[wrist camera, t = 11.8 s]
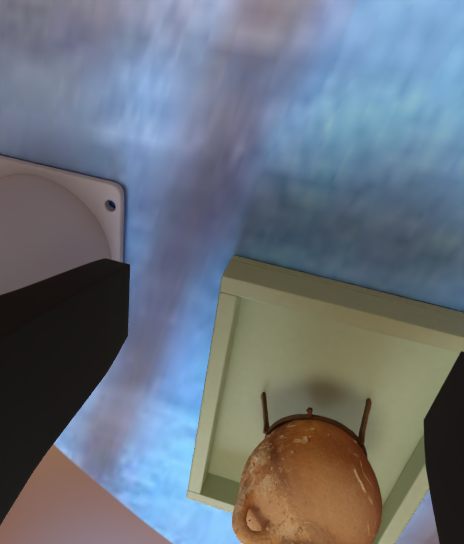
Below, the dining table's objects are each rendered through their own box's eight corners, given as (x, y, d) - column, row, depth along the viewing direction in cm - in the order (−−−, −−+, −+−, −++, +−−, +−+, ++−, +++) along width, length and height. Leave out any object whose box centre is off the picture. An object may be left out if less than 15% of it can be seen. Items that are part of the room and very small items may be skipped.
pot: (382, 452, 23) (369, 365, 20) (396, 639, 16) (379, 555, 13) (274, 449, 25) (246, 369, 22) (248, 615, 18) (202, 537, 15)
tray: (380, 528, 26) (383, 563, 24) (196, 469, 27) (185, 498, 26) (501, 321, 18) (517, 351, 16) (233, 254, 19) (221, 275, 18)
